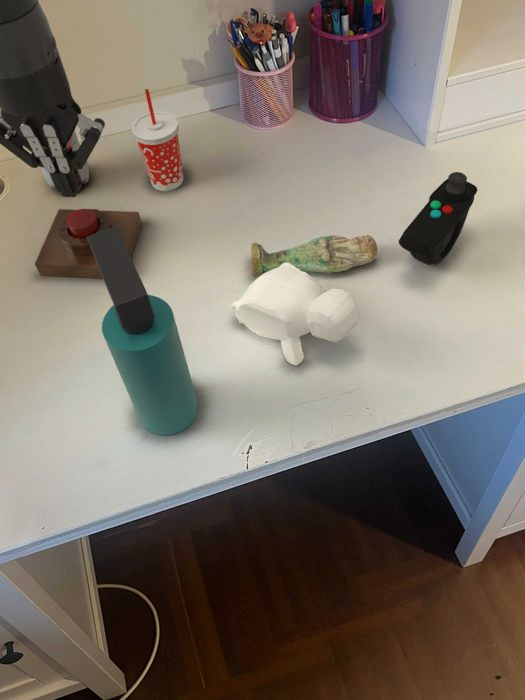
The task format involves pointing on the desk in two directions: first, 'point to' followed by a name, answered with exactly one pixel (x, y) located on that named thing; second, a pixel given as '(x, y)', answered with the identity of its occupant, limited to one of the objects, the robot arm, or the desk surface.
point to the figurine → (318, 255)
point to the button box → (82, 244)
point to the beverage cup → (159, 147)
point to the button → (82, 223)
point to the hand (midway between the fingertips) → (71, 192)
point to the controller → (440, 220)
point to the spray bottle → (144, 341)
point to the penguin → (295, 310)
